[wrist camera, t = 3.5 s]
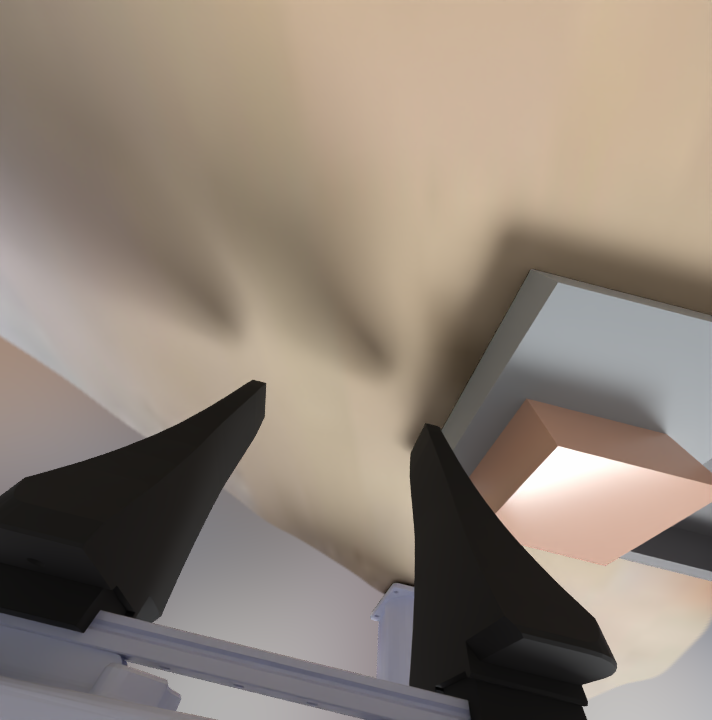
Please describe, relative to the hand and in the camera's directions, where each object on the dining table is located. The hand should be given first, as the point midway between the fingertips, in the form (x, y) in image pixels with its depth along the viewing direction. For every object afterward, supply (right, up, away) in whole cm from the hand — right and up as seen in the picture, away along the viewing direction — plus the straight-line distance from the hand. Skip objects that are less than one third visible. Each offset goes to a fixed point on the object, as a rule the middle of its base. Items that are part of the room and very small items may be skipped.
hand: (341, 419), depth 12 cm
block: (+10, -2, +1) cm, 10 cm away
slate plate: (+11, 0, +2) cm, 11 cm away
